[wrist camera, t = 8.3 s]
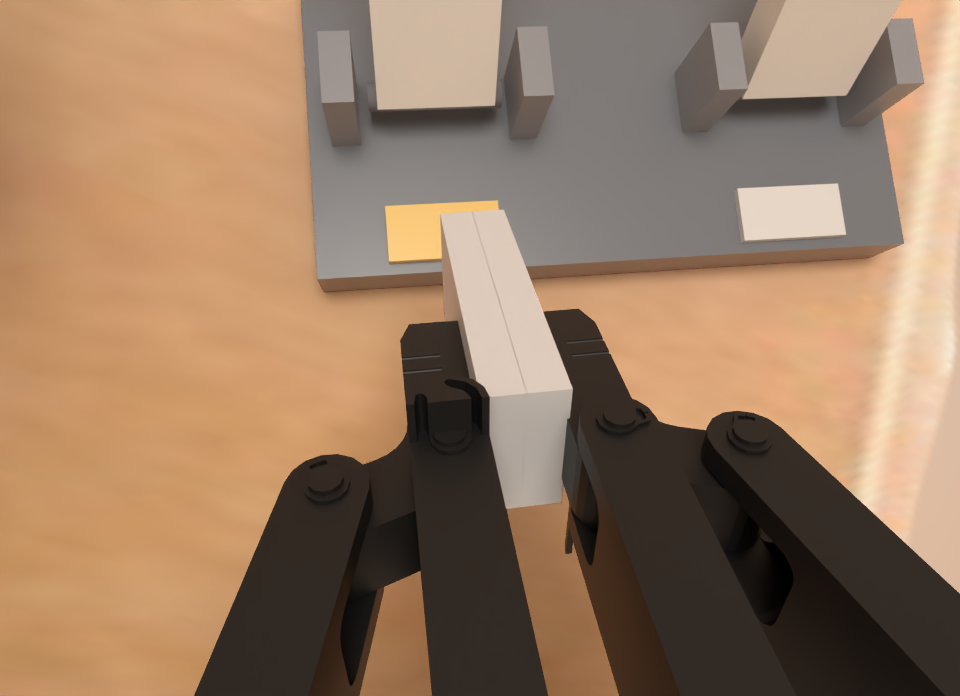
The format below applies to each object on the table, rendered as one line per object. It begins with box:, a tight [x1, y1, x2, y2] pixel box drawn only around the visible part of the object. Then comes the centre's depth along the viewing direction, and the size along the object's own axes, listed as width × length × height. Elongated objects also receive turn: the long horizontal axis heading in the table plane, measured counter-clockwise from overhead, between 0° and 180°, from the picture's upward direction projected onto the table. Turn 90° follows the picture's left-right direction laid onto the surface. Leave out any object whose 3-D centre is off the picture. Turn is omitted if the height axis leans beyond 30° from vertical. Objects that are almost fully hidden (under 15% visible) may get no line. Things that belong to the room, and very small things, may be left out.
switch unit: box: [301, 0, 924, 292], centre depth 26 cm, size 22×12×5 cm, turn 95°
